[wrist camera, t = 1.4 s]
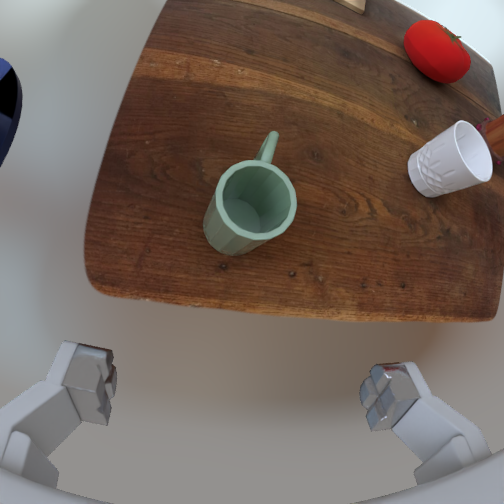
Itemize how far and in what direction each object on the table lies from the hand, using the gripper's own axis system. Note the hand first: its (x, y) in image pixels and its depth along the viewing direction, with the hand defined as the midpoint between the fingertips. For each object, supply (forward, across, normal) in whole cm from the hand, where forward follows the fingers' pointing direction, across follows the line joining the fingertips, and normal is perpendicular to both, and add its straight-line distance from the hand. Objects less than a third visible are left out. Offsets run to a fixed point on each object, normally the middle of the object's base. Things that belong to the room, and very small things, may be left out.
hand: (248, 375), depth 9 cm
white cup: (+31, -27, -2) cm, 41 cm away
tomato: (+46, -31, -20) cm, 60 cm away
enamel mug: (+24, -2, +4) cm, 24 cm away
